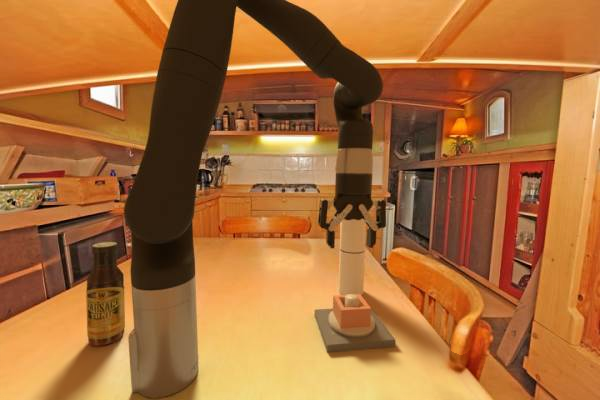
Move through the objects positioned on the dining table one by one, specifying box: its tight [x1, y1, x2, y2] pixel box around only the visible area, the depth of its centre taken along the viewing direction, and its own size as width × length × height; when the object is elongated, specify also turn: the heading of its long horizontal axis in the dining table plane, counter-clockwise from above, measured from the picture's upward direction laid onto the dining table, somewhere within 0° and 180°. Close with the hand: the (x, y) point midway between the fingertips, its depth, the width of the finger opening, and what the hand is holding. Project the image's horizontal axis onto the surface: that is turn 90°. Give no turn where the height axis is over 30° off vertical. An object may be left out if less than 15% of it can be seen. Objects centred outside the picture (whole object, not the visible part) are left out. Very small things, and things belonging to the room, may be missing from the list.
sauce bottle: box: [85, 241, 126, 347], centre depth 53 cm, size 7×6×20 cm
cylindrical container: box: [338, 219, 367, 296], centre depth 75 cm, size 7×7×25 cm
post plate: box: [314, 294, 396, 353], centre depth 58 cm, size 14×13×8 cm
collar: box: [332, 294, 372, 328], centre depth 57 cm, size 6×6×4 cm
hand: (350, 247), depth 56 cm, fingers open, 8 cm apart
